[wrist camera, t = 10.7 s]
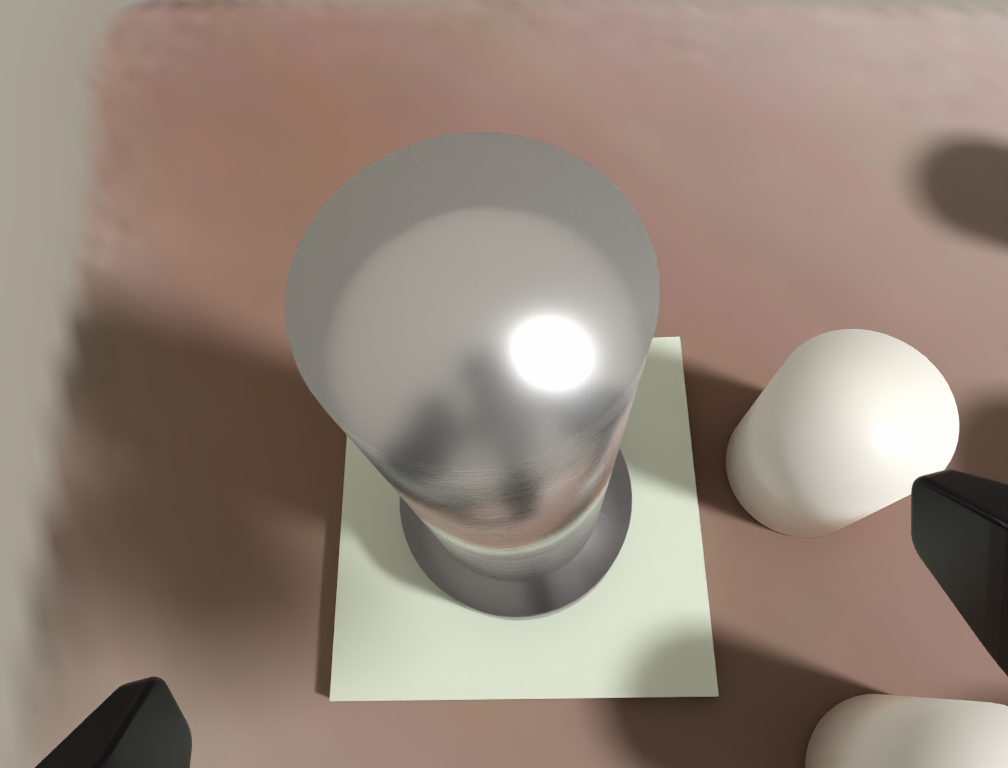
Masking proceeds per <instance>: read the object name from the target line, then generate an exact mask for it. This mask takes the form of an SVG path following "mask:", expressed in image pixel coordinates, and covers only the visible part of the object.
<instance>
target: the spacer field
mask: <svg viewBox="0 0 1008 768" xmlns="http://www.w3.org/2000/svg"><path fill="white" fill-rule="evenodd" d="M958 436H959V416H958V410H957V406H956V403H955V399H954V396H953V394H952V392H951V390H950V388H949V386H948V384H947V382H946V381H945V379H944V378H943V376H942V375H941V373H940V372H939V371H938V370H937V368H936V367H935V366H934V365H933V364H932V363H931V362H930V361H929V360H928V359H927V358H926V357H925V356H923V355H922V354H921V353H920V352H918V351H917V350H916V349H914V348H913V347H911V346H909V345H908V344H906V343H904V342H902V341H900V340H898V339H896V338H894V337H891V336H888V335H886V334H883V333H878V332H874V331H869V330H862V329H844V330H836V331H831V332H827V333H824V334H821V335H818V336H816V337H814V338H812V339H810V340H808V341H806V342H805V343H803V344H802V345H800V346H799V347H798V348H797V349H796V350H795V351H794V352H792V353H791V354H790V356H789V357H788V358H787V359H786V361H785V362H784V363H783V365H782V366H781V367H780V369H779V370H778V371H777V373H776V374H775V375H774V377H773V378H772V380H771V381H770V382H769V384H768V385H767V386H766V388H765V389H764V390H763V392H762V393H761V394H760V396H759V397H758V398H757V400H756V401H755V402H754V404H753V405H752V406H751V408H750V409H749V410H748V412H747V413H746V414H745V416H744V417H743V419H742V420H741V421H740V423H739V424H738V425H737V427H736V428H735V430H734V431H733V433H732V435H731V437H730V440H729V442H728V446H727V450H726V460H725V462H726V472H727V477H728V481H729V484H730V487H731V489H732V491H733V493H734V495H735V497H736V498H737V500H738V501H739V503H740V504H741V505H742V507H743V508H744V509H745V510H746V511H747V512H748V513H749V514H750V515H751V516H752V517H753V518H754V519H756V520H757V521H758V522H760V523H761V524H763V525H764V526H766V527H768V528H770V529H772V530H774V531H776V532H779V533H782V534H785V535H789V536H794V537H807V538H809V537H818V536H823V535H827V534H830V533H832V532H835V531H837V530H839V529H841V528H843V527H845V526H847V525H849V524H851V523H853V522H855V521H857V520H859V519H861V518H863V517H865V516H867V515H869V514H871V513H873V512H876V511H878V510H880V509H882V508H884V507H886V506H888V505H890V504H892V503H894V502H896V501H898V500H900V499H902V498H904V497H906V496H908V495H910V494H911V489H912V484H913V482H914V481H915V479H917V478H918V477H920V476H923V475H927V474H931V473H935V472H938V471H942V470H945V468H946V467H947V465H948V464H949V462H950V461H951V459H952V456H953V454H954V452H955V449H956V446H957V442H958ZM805 768H1008V706H1006V705H1001V704H996V703H991V702H978V701H965V700H952V699H938V698H925V697H911V696H898V695H885V694H865V695H859V696H855V697H852V698H849V699H846V700H844V701H842V702H840V703H839V704H837V705H835V706H834V707H833V708H832V709H830V710H829V711H828V712H827V713H826V714H825V715H824V716H823V717H822V718H821V719H820V721H819V723H818V724H817V726H816V727H815V729H814V731H813V733H812V735H811V737H810V741H809V744H808V747H807V752H806V758H805Z"/></svg>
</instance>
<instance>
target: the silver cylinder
mask: <svg viewBox="0 0 1008 768" xmlns="http://www.w3.org/2000/svg"><path fill="white" fill-rule="evenodd" d="M659 306H660V280H659V273H658V265H657V260H656V256H655V253H654V249H653V246H652V242H651V240H650V237H649V235H648V233H647V231H646V229H645V226H644V224H643V222H642V220H641V219H640V217H639V215H638V214H637V212H636V211H635V209H634V208H633V206H632V205H631V203H630V202H629V201H628V199H627V198H626V197H625V196H624V195H623V194H622V192H621V191H620V190H619V189H618V188H617V187H616V186H615V185H614V184H613V183H612V182H611V181H610V180H609V179H608V178H606V177H605V176H604V175H603V174H602V173H601V172H600V171H598V170H597V169H595V168H594V167H592V166H591V165H590V164H588V163H587V162H585V161H584V160H582V159H580V158H578V157H576V156H575V155H573V154H571V153H569V152H567V151H565V150H563V149H560V148H558V147H555V146H553V145H550V144H547V143H545V142H542V141H538V140H534V139H530V138H526V137H522V136H516V135H509V134H502V133H478V132H476V133H463V134H452V135H447V136H441V137H436V138H431V139H428V140H424V141H421V142H418V143H414V144H411V145H408V146H406V147H404V148H401V149H399V150H396V151H394V152H392V153H389V154H387V155H386V156H384V157H382V158H380V159H378V160H377V161H375V162H373V163H371V164H369V165H368V166H367V167H365V168H364V169H362V170H361V171H360V172H358V173H357V174H355V175H354V176H352V177H351V178H350V179H349V180H348V181H347V182H346V183H344V184H343V185H342V186H341V187H340V188H339V189H338V190H337V191H335V193H334V194H333V195H332V196H331V197H330V198H329V199H328V200H327V202H326V203H325V204H324V205H323V206H322V207H321V208H320V210H319V211H318V213H317V214H316V216H315V217H314V218H313V220H312V221H311V223H310V224H309V226H308V227H307V229H306V231H305V233H304V235H303V237H302V239H301V241H300V243H299V245H298V247H297V250H296V253H295V256H294V258H293V261H292V264H291V267H290V272H289V277H288V281H287V286H286V298H285V318H286V331H287V335H288V339H289V344H290V348H291V352H292V355H293V357H294V360H295V362H296V365H297V367H298V370H299V373H300V374H301V376H302V378H303V379H304V381H305V383H306V385H307V386H308V388H309V390H310V392H311V393H312V394H313V396H314V397H315V398H316V399H317V401H318V402H319V403H320V404H321V406H322V407H323V408H324V409H325V411H326V412H327V413H328V414H329V415H330V416H331V417H332V419H333V420H334V421H335V422H336V423H337V424H338V425H339V427H340V428H341V429H342V430H343V431H344V432H345V433H346V435H347V436H348V437H349V438H350V439H351V440H352V441H353V443H354V444H355V445H356V446H357V447H358V448H359V449H360V451H361V452H362V453H363V454H364V455H365V456H366V457H367V459H368V460H369V461H370V462H371V463H372V464H373V465H374V467H375V468H376V469H377V470H378V471H379V472H380V473H381V474H382V476H383V477H384V478H385V479H386V480H387V481H388V482H389V484H390V485H391V486H392V487H393V488H394V489H395V490H396V492H397V493H398V494H399V495H400V516H401V524H402V528H403V531H404V535H405V539H406V541H407V543H408V546H409V548H410V551H411V553H412V555H413V556H414V558H415V560H416V561H417V563H418V565H419V566H420V568H421V569H422V570H423V571H424V573H425V574H426V575H427V577H428V578H429V579H430V580H431V581H432V582H433V583H434V584H435V585H436V586H437V587H438V588H440V589H441V590H442V591H444V592H445V593H446V594H448V595H449V596H450V597H452V598H453V599H455V600H456V601H457V602H459V603H460V604H462V605H464V606H465V607H467V608H469V609H471V610H473V611H475V612H478V613H480V614H483V615H486V616H489V617H494V618H498V619H504V620H516V621H517V620H532V619H538V618H543V617H547V616H550V615H553V614H556V613H559V612H561V611H563V610H565V609H567V608H569V607H571V606H573V605H574V604H576V603H577V602H579V601H580V600H582V599H583V598H585V597H586V596H587V595H588V594H589V593H590V592H591V591H592V590H594V589H595V588H596V587H597V585H598V584H599V583H600V582H601V581H602V579H603V578H604V577H605V576H606V574H607V572H608V571H609V569H610V568H611V566H612V565H613V563H614V561H615V559H616V558H617V556H618V554H619V552H620V550H621V548H622V545H623V543H624V541H625V538H626V535H627V531H628V528H629V524H630V518H631V512H632V490H631V481H630V476H629V472H628V468H627V465H626V462H625V460H624V457H623V454H622V452H621V450H620V448H619V447H620V444H621V441H622V437H623V434H624V431H625V428H626V424H627V421H628V418H629V414H630V411H631V408H632V405H633V401H634V398H635V395H636V391H637V388H638V385H639V382H640V378H641V375H642V372H643V369H644V365H645V362H646V359H647V355H648V352H649V349H650V346H651V342H652V339H653V336H654V332H655V329H656V324H657V318H658V312H659Z"/></svg>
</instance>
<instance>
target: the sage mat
mask: <svg viewBox="0 0 1008 768" xmlns="http://www.w3.org/2000/svg"><path fill="white" fill-rule="evenodd" d="M619 448H620V450H621V452H622V454H623V457H624V460H625V462H626V465H627V468H628V472H629V476H630V481H631V490H632V512H631V518H630V524H629V528H628V531H627V535H626V538H625V541H624V543H623V545H622V548H621V550H620V552H619V554H618V556H617V558H616V559H615V561H614V563H613V565H612V566H611V568H610V569H609V571H608V572H607V574H606V576H605V577H604V578H603V579H602V581H601V582H600V583H599V584H598V585H597V587H596V588H595V589H594V590H592V591H591V592H590V593H589V594H588V595H587V596H586V597H585V598H583V599H582V600H580V601H579V602H577V603H576V604H574V605H573V606H571V607H569V608H567V609H565V610H563V611H561V612H559V613H556V614H553V615H550V616H547V617H543V618H538V619H532V620H517V621H516V620H504V619H498V618H494V617H489V616H486V615H483V614H480V613H478V612H475V611H473V610H471V609H469V608H467V607H465V606H464V605H462V604H460V603H459V602H457V601H456V600H455V599H453V598H452V597H450V596H449V595H448V594H446V593H445V592H444V591H442V590H441V589H440V588H438V587H437V586H436V585H435V584H434V583H433V582H432V581H431V580H430V579H429V578H428V577H427V575H426V574H425V573H424V571H423V570H422V569H421V568H420V566H419V565H418V563H417V561H416V560H415V558H414V556H413V555H412V553H411V551H410V548H409V546H408V543H407V541H406V539H405V535H404V531H403V528H402V524H401V516H400V495H399V494H398V493H397V492H396V490H395V489H394V488H393V487H392V486H391V485H390V484H389V482H388V481H387V480H386V479H385V478H384V477H383V476H382V474H381V473H380V472H379V471H378V470H377V469H376V468H375V467H374V465H373V464H372V463H371V462H370V461H369V460H368V459H367V457H366V456H365V455H364V454H363V453H362V452H361V451H360V449H359V448H358V447H357V446H356V445H355V444H354V443H353V441H352V440H351V439H350V438H349V437H348V436H347V442H346V457H345V473H344V488H343V503H342V519H341V534H340V549H339V564H338V580H337V595H336V610H335V625H334V641H333V656H332V671H331V687H330V701H390V700H470V699H551V698H632V697H713V696H719V694H718V684H717V675H716V666H715V657H714V648H713V638H712V629H711V620H710V611H709V602H708V592H707V583H706V574H705V565H704V555H703V546H702V537H701V528H700V519H699V509H698V500H697V491H696V482H695V473H694V463H693V454H692V445H691V436H690V427H689V417H688V408H687V399H686V390H685V381H684V371H683V362H682V353H681V344H680V337H661V338H653V339H652V342H651V346H650V349H649V352H648V355H647V359H646V362H645V365H644V369H643V372H642V375H641V378H640V382H639V385H638V388H637V391H636V395H635V398H634V401H633V405H632V408H631V411H630V414H629V418H628V421H627V424H626V428H625V431H624V434H623V437H622V441H621V444H620V447H619Z"/></svg>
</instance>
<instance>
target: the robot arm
mask: <svg viewBox="0 0 1008 768" xmlns="http://www.w3.org/2000/svg"><path fill="white" fill-rule="evenodd" d="M911 536H912V541H913V544H914V547H915V549H916V551H917V553H918V555H919V556H920V558H921V559H922V561H923V562H924V564H925V565H926V566H927V568H928V569H929V570H930V572H931V573H932V575H933V576H934V577H935V579H936V580H937V582H938V583H939V584H940V586H941V587H942V589H943V590H944V591H945V593H946V594H947V596H948V597H949V598H950V600H951V601H952V603H953V604H954V605H955V607H956V608H957V610H958V611H959V612H960V614H961V615H962V616H963V618H964V619H965V621H966V622H967V623H968V625H969V626H970V628H971V629H972V630H973V632H974V633H975V635H976V636H977V637H978V639H979V640H980V642H981V643H982V644H983V646H984V647H985V648H986V650H987V651H988V652H989V654H990V655H991V656H992V658H993V659H994V660H995V661H996V663H997V664H998V665H999V666H1000V668H1001V669H1002V670H1003V671H1004V672H1005V674H1006V675H1007V676H1008V484H1005V483H1002V482H998V481H994V480H990V479H986V478H983V477H979V476H975V475H971V474H967V473H964V472H960V471H956V470H942V471H938V472H935V473H931V474H927V475H923V476H920V477H918V478H917V479H915V481H914V482H913V484H912V489H911ZM191 751H192V737H191V732H190V728H189V725H188V723H187V721H186V719H185V717H184V716H183V714H182V712H181V710H180V708H179V706H178V705H177V703H176V701H175V699H174V697H173V695H172V693H171V692H170V690H169V688H168V686H167V685H166V683H165V682H164V681H163V680H162V679H161V678H159V677H149V678H146V679H142V680H138V681H134V682H130V683H127V684H124V685H122V686H120V687H119V688H118V689H116V690H115V691H114V692H113V693H112V694H111V695H110V696H109V697H108V698H107V699H106V700H105V701H104V702H103V703H102V704H101V705H100V706H99V707H98V708H97V709H96V710H95V711H94V712H92V713H91V714H90V715H89V716H88V717H87V718H86V719H85V720H84V721H83V722H82V723H81V724H80V725H79V726H78V727H77V728H76V729H75V730H74V731H73V732H72V733H71V734H70V735H68V736H67V737H66V738H65V739H64V740H63V741H62V742H61V743H60V744H59V745H58V746H57V747H56V748H55V749H54V750H53V751H52V752H51V753H50V754H49V755H48V756H47V757H46V758H44V759H43V760H42V761H41V762H40V763H39V764H38V765H37V766H36V767H35V768H190V759H191Z"/></svg>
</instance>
